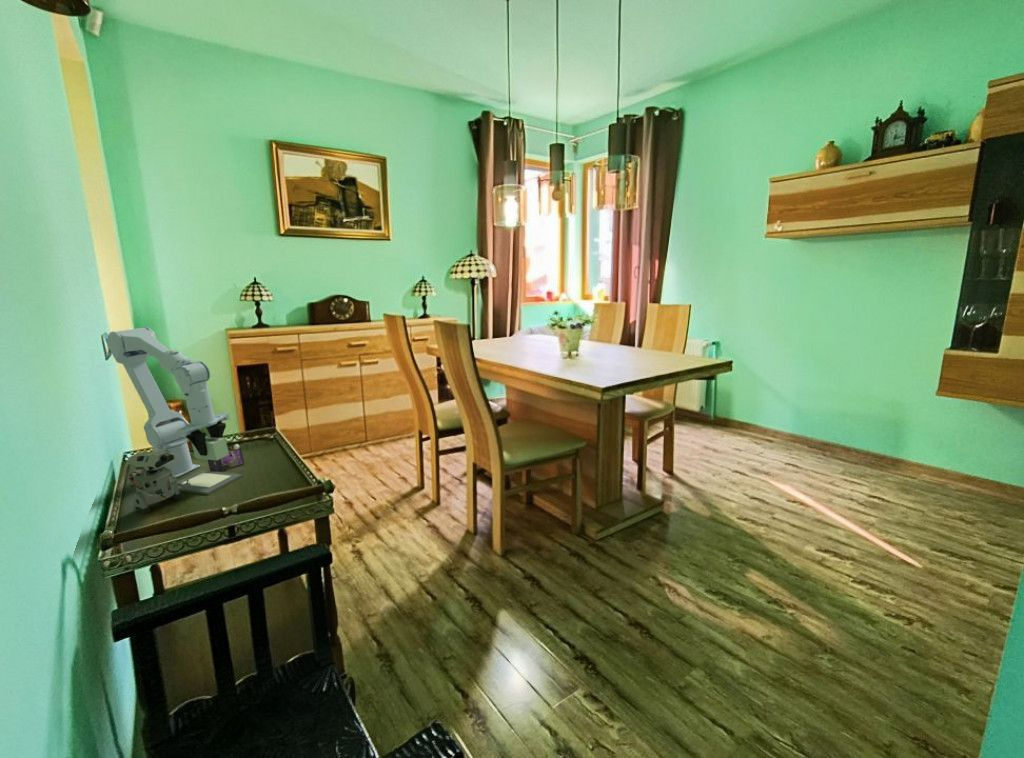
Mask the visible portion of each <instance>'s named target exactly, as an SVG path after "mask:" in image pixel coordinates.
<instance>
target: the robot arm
mask: <svg viewBox="0 0 1024 758" xmlns="http://www.w3.org/2000/svg"><path fill="white" fill-rule="evenodd" d="M107 335H108V336H107V347H108V349H109V350H110V352H111V355H112V357H113V359H114V360H115V362H116V363H118V364H121V365H123V368H124V369H125V371H126V373H127V374H128V377H129V379H130V381H131V382H132V384H133V386H134V389H135V390H136V392H137V394H138V396H139V397H140V400H141V402H142V404H143V406H144V408H145V409H146V412H147V413H148V415H149V417H148V419H147V421H146V422H145V423H144V425H143V430H144V433H145V436H146V437H145V438H146V441H147V443H148V444H149V445H150V446H151V447H152V451H151V452H156V451H165V450H167V451H170V453H172V454H175V460H174V461H173V462H171V463H169V464H167V465H165V467H166V468H168V469H171V471H172V475H173V478H176V479H177V478H179V477H181V476H183V475H186V474H187V473H190V472H191V471H193V470H196V469H198V468H200V467H201V465H200V464H194V463H193V460H192V457H191V453H190V449H189V445H188V442H187V441H190V443H191V442H192V443H191V445H192V444H193V445H194V446H195V447H196V449H197V451H198V452H199V454H200V455H202V456H206V455H207V447H206V437H207V433H206V432H203V431H202V430H203V429H206V430H207V432H208V434H209V437H215V438H224V437H223V436H224V432H225V430H226V427H227V425H226V423H225V422H224V421H228V420H230V414H229V412H221V413H219V414H215V412H214V408H213V407H214V406H213V404H212V403H213V402H212V400H211V399H212V398H211V394H210V390H209V387H208V382H209V380H210V377H211V372H210V369H209V367H208V365H207V364H206V363H205V362H204V361H202V360H198V361H196V360H194V361H193V360H192V359H190V358H188V357H187V356H185V355H184V354H182V353H181V352H180V351H179V350H177V349H168V348H167V347H166V346H165V345H164V344H163V343H161V342H160V341H159V340H158V338H157V336H156V333H155V331H154V330H152V329H151V328H150V327H149V326H143V327H139V328H132V329H125V330H119V331H111V332H109V333H108V334H107ZM151 356H152V357H153V358H155V359H157V360H158V364H159V366H160V367H161V368H163V369H164V370H166V371H167V372H168V373H169V374H171V375H173V377H174V380H175V382H176V383H177V385H178V386H179V389H180V391H181V393H182V394H184V399H185V403H186V407H187V411H188V414H189V419H190V423H189V422H188V420H186V419H185V417H184V415H183V414H182V413H181V412H179V411H175V410H171V409H170V408H169V406H168V404H167V401H166V400H165V397H164V396H163V394H162V392H161V390H160V387H159V386H158V384H157V382H156V381H155V378H154V377H153V375H152V373H151V370H150V369H149V367H148V364H147V362H146V361H147V360H148V359H149V358H150V357H151Z"/></svg>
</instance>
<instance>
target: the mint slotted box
mask: <svg viewBox="0 0 1024 758" xmlns="http://www.w3.org/2000/svg"><path fill="white" fill-rule="evenodd" d="M190 443H191V446H192V450H193V454H194V458H195V459H196V460H197V459H199V460H207V461H208V460H219V459H221V458H223V457H225V456H227V455H229V452H230V451H229V449H228V447H227V446H228V445H227V440H226V438H225V437H222V438H215V437H210V436H206V447H207V455H206V456H202V455H200V454H199V452H198V451H197V449H196V447H195V446H194V445H193V444H192V442H191V441H190ZM221 460H222V459H221Z"/></svg>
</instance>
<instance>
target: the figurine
mask: <svg viewBox="0 0 1024 758" xmlns="http://www.w3.org/2000/svg"><path fill="white" fill-rule="evenodd" d="M174 460H175V454H172V453H170V451H167V450H165V451H156V452H152V451H139V452H137V453H135V454H132V455H130V457H128V459H126V461H125V463H126V464H128V465H129V466H132V467H133V468H134V469H135V470H136V471H137V472H136V471H132V472H130V474H128V480H129V484H130V485H129V486H130V488H135V489H136V490H135V491H136V493H133V503H134V505H135V506H134V509H135V511H137V512H138V511H140V512H139V513H142V512H143V513H142V514H144V513H145V514H147V513H149V512H151V511H150V508H149V506H148V505H147V504H156V503H159V502H162V501H164V500H166V499H168V498H171V499H174V500H180V499H181V498H182V497H183V496H182V493H180V492H181V491H179V489H178V487H177V486H180V487H182V488H184V489H186V488H188V485H190V483H189V484H188V481H189V480H187V483H186V484H183V483H181V482H180V480H178V479H177V477H176V478H174V477H173V475H172V471H171V469H168V468H166V467H165V465H167V464H169V463H171V462H173V461H174ZM133 473H135V474H133ZM189 482H190V481H189ZM176 483H177V484H176ZM187 484H188V485H187ZM146 512H147V513H146Z"/></svg>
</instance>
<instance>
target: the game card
mask: <svg viewBox="0 0 1024 758" xmlns="http://www.w3.org/2000/svg"><path fill="white" fill-rule="evenodd" d="M227 448H228V452H229V455H227V456H225V457H223V458H221V459H219V460H207V464H208V468H209V471H213V472H221V471H222V472H223V471H224V470H228V469H232V467H233V468H236V467H240V466H243V465H245V459H244V456H243V452H242V448H241V445H240V443H235V444H230V445H227ZM233 450H235V451H233ZM235 453H236V455H235ZM236 457H237V464H236V465H231V466H228V467H225V468H224V467H223V466H225V465H230V464H232V463H233V462H235V459H236ZM241 462H242V463H241Z"/></svg>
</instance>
